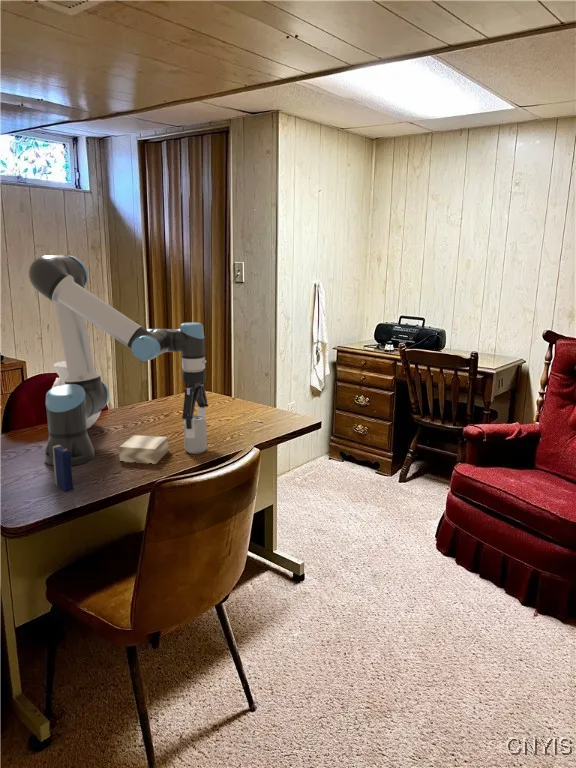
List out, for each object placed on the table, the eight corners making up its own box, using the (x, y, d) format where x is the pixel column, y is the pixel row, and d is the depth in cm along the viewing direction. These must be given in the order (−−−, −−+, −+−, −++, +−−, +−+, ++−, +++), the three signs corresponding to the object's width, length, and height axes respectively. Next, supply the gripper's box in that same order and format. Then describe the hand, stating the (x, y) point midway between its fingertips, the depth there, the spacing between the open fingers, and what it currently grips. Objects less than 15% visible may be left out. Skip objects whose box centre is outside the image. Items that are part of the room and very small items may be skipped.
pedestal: (119, 461, 183) (119, 446, 182) (134, 449, 195) (133, 435, 193) (155, 463, 181) (155, 449, 180) (168, 451, 193) (167, 437, 192)
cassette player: (73, 490, 161) (70, 450, 158) (65, 492, 159) (62, 452, 157) (62, 482, 166) (59, 443, 163) (54, 484, 165) (51, 445, 162)
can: (209, 447, 197) (208, 414, 194) (203, 455, 190) (203, 420, 187) (188, 446, 198) (187, 413, 195) (181, 454, 191) (180, 419, 188)
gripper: (193, 378, 175) (196, 443, 180) (214, 363, 199) (216, 421, 204) (170, 377, 176) (173, 442, 181) (194, 362, 200) (196, 420, 205)
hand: (196, 431), depth 192 cm, fingers open, 13 cm apart
